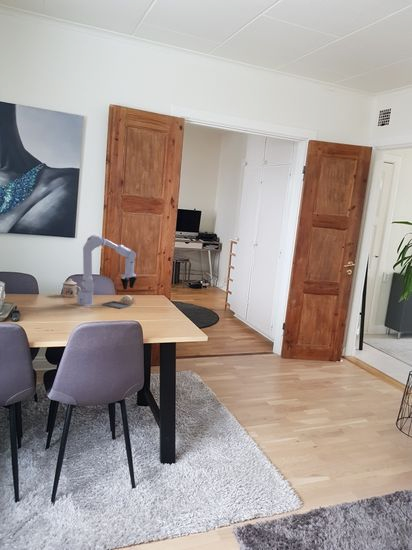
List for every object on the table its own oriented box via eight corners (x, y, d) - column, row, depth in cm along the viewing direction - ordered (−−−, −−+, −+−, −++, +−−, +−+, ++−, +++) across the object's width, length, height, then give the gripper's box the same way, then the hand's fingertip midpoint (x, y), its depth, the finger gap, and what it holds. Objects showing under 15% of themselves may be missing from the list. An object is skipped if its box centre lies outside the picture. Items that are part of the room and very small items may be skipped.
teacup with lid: (60, 296, 283) (61, 279, 281) (65, 294, 292) (66, 277, 290) (77, 298, 282) (78, 281, 281) (82, 296, 291) (83, 279, 290)
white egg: (129, 303, 279) (129, 297, 279) (125, 302, 281) (125, 296, 280) (132, 303, 282) (133, 297, 282) (128, 302, 284) (128, 296, 283)
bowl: (130, 305, 277) (130, 300, 276) (117, 303, 280) (117, 298, 280) (138, 303, 286) (138, 298, 286) (125, 300, 290) (126, 296, 289)
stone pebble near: (127, 302, 283) (128, 296, 282) (123, 301, 284) (123, 295, 283) (130, 301, 286) (131, 295, 285) (126, 300, 287) (126, 295, 287)
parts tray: (120, 309, 263) (120, 307, 263) (102, 305, 268) (102, 303, 268) (131, 306, 274) (131, 304, 274) (113, 302, 279) (113, 300, 279)
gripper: (128, 270, 271) (127, 290, 273) (140, 268, 284) (139, 288, 286) (119, 268, 273) (118, 289, 275) (131, 266, 287) (130, 286, 289)
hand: (128, 288), depth 281 cm, fingers open, 7 cm apart
